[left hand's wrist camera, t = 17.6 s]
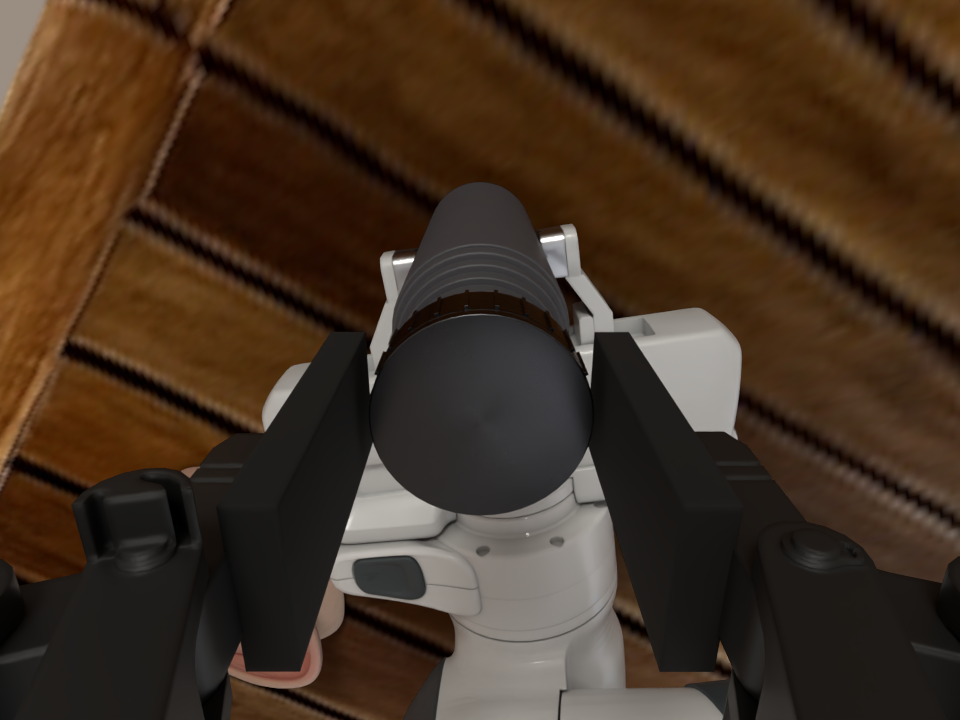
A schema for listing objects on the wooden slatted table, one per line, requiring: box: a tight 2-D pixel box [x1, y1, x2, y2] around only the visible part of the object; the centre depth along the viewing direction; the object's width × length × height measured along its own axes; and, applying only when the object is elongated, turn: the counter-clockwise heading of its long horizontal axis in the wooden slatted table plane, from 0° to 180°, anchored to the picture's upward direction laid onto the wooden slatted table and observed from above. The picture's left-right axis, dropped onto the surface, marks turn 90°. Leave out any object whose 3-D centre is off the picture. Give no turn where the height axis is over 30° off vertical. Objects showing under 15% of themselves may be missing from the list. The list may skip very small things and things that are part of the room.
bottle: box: [392, 182, 569, 336], centre depth 22 cm, size 5×5×20 cm
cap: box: [369, 290, 594, 516], centre depth 14 cm, size 5×5×2 cm
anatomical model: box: [181, 467, 344, 688], centre depth 37 cm, size 13×4×12 cm
